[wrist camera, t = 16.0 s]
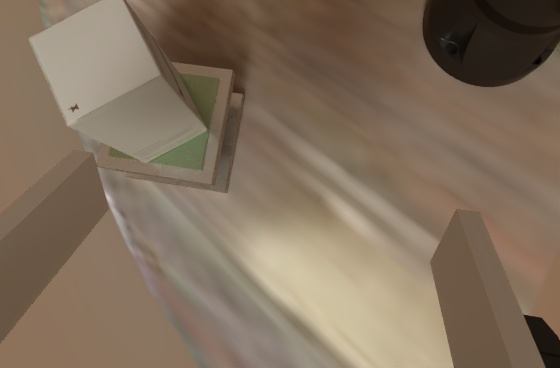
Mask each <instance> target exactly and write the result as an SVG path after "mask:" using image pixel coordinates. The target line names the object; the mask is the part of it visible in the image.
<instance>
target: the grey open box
mask: <svg viewBox="0 0 560 368" xmlns="http://www.w3.org/2000/svg"><path fill="white" fill-rule="evenodd" d="M172 64H173V65H174V67H175V68H176V69H177V71H178V72H179V74H180V77H181V79H182V81H183V83H184V85H185V87H186V89H187V91H188V93H189V95H190V97H191V99H192V101H193V103H194V105H195V107H196V109H197V110H198V112H199V114H200V116H201V118H202V120H203V121H204V123H205V125H206V126H207V128H208V130H207V131H206V132H204V133H202V134H200V135H198V136H196V137H195V138H193V139H191V140H189V141H187V142H185V143H183V144H181V145H180V146H178V147H176V148H174V149H172V150H170V151H168V152H166V153H164V154H162V155H160V156H158V157H157V158H155V159H153V160H151V161H149V162H147V163H144V162H142V161H140V160H138V159H136V158H133V157H131V156H129V155H127V154H125V153H123V152H121V151H119V150H117V149H114V148H112V147H110V146H108V145H106V144H104V143H102V142H101V147H100V151H99V155H98V160H97V167H100V168H103V169H109V170H115V171H121V172H127V175H126V176H127V177H130V178H134V179H141V180H147V181H153V182H160V183H166V184H172V185H179V186H185V187H191V188H198V189H204V190H210V191H216V192H223V193H227V192H228V186H229V181H230V175H231V170H232V164H233V159H234V153H235V148H236V142H237V137H238V132H239V126H240V121H241V115H242V110H243V104H244V96H243V94H239V93H232V91H233V86H234V81H235V74H234V72H233V70H229V69H222V68H214V67H207V66H199V65H192V64H184V63H176V62H172Z"/></svg>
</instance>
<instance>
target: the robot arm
mask: <svg viewBox="0 0 560 368" xmlns="http://www.w3.org/2000/svg"><path fill="white" fill-rule="evenodd" d="M423 35H424V40H425V43H426V46H427V49H428V51H429V53H430V54H431V56H432V58H433V59H434V60H435V62H436V63H437V64H438V65H439V66H440V67H441V68H442V69H443V70H444V71H445V72H446V73H448V74H449V75H451V76H452V77H454V78H456V79H458V80H460V81H462V82H465V83H468V84H471V85H475V86H482V87H496V86H503V85H507V84H510V83H513V82H516V81H518V80H520V79H522V78H523V77H525V76H526V75H528V74H529V73H531V72H532V71H534V70H535V69H536V68H538V67H539V66H540V65H541V64H543V63H544V62H545V61H546V60H547V59H548V57H549V56H550V55H551V54H552V52H553V51H554V49H555V48H556V46H557V44H558V43H559V41H560V0H430V2H429V4H428V6H427V8H426V11H425V15H424V19H423ZM108 209H109V207H108V203H107V200H106V196H105V193H104V189H103V186H102V182H101V179H100V175H99V172H98V168H97V164H96V161H95V157H94V154H93V153H91V152H84V151H77V150H73V151H72V152H71V153H70V154H68V155H67V156H66V157H65V158H64V159H63V160H61V161H60V162H59V163H58V164H57V165H56V166H55V167H53V168H52V169H51V170H50V171H49V172H48V173H47V174H46V175H44V176H43V177H42V178H41V179H40V180H39V181H37V182H36V183H35V184H34V185H33V186H32V187H30V188H29V189H28V190H27V191H26V192H25V193H24V194H22V195H21V196H20V197H19V198H18V199H17V200H16V201H14V202H13V203H12V204H11V205H10V206H9V207H7V208H6V209H5V210H4V211H3V212H2V213H1V214H0V343H1V342H2V341H3V340H4V338H5V337H6V336H7V334H8V333H9V332H10V331H11V330H12V329H13V327H14V326H15V325H16V323H17V322H18V321H19V320H20V319H21V317H22V316H23V315H24V314H25V312H26V311H27V310H28V309H29V307H30V306H31V305H32V304H33V302H34V301H35V300H36V299H37V298H38V296H39V295H40V294H41V292H42V291H43V290H44V289H45V288H46V286H47V285H48V284H49V283H50V281H51V280H52V279H53V278H54V276H55V275H56V274H57V273H58V271H59V270H60V269H61V268H62V266H63V265H64V264H65V263H66V261H67V260H68V259H69V258H70V256H71V255H72V254H73V252H75V250H76V249H77V248H78V246H79V245H80V244H81V243H82V242H83V240H84V239H85V238H86V237H87V235H88V234H89V233H90V232H91V230H92V229H93V228H94V227H95V225H96V224H97V223H98V222H99V221H100V219H101V218H102V217H103V216H104V214H105V213H106V212H107V211H108ZM430 263H431V268H432V272H433V277H434V281H435V285H436V290H437V294H438V299H439V303H440V308H441V312H442V316H443V321H444V325H445V330H446V334H447V338H448V343H449V347H450V352H451V356H452V361H453V365H454V368H560V340H559V338H558V336H557V335H556V334H555V333H554V332H553V330H552V329H551V328H550V327H549V326H548V325H547V324H546V322H545V321H544V320H543V319H542V318H540V317H534V316H528V315H523V313H522V311H521V309H520V306H519V304H518V302H517V299H516V297H515V294H514V292H513V290H512V287H511V285H510V283H509V280H508V278H507V276H506V273H505V271H504V269H503V266H502V264H501V262H500V259H499V257H498V255H497V252H496V250H495V248H494V245H493V243H492V241H491V238H490V236H489V233H488V231H487V229H486V226H485V224H484V222H483V219H482V217H481V215H480V212H474V211H467V210H461V209H456V211H455V213H454V215H453V217H452V219H451V221H450V223H449V225H448V227H447V229H446V231H445V233H444V235H443V237H442V239H441V241H440V243H439V245H438V247H437V249H436V251H435V253H434V255H433V257H432V259H431V261H430Z"/></svg>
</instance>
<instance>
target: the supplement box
mask: <svg viewBox="0 0 560 368" xmlns="http://www.w3.org/2000/svg"><path fill="white" fill-rule="evenodd" d="M29 42H30V45H31V47H32V49H33V51H34V53H35V55H36V57H37V60H38V62H39V64H40V67H41V69H42V71H43V73H44V75H45V78H46V80H47V83H48V85H49V87H50V89H51V91H52V93H53V95H54V97H55V99H56V102H57V104H58V106H59V108H60V111H61V113H62V115H63V117H64V119H65V122H66V125H67V126H69V127H71V128H73V129H75V130H77V131H79V132H81V133H83V134H85V135H87V136H89V137H92V138H94V139H96V140H98V141H100V142H102V143H104V144H106V145H108V146H110V147H112V148H114V149H117V150H119V151H121V152H123V153H125V154H127V155H129V156H131V157H133V158H136V159H138V160H140V161H142V162H144V163H147V162H149V161H151V160H153V159H155V158H157V157H158V156H160V155H162V154H164V153H166V152H168V151H170V150H172V149H174V148H176V147H178V146H180V145H181V144H183V143H185V142H187V141H189V140H191V139H193V138H195V137H196V136H198V135H200V134H202V133H204V132H206V131H207V130H208V128H207V126H206V125H205V123H204V121H203V120H202V118H201V116H200V114H199V112H198V110H197V109H196V107H195V105H194V103H193V101H192V99H191V97H190V95H189V93H188V91H187V89H186V87H185V85H184V83H183V81H182V79H181V77H180V74H179V72H178V71H177V69H176V68H175V67H174V65H173V64H172V62H171V61H170V60H169V58H168V57H167V55H166V54H165V53H164V51H163V50H162V49H161V47H160V46H159V44H158V43H157V42H156V40H155V39H154V38H153V36H152V35H151V34H150V32H149V31H148V30H147V28H146V27H145V26H144V24H143V23H142V22H141V20H140V19H139V18H138V16H137V15H136V14H135V12H134V11H133V10H132V8H131V7H130V6H129V4H128V3H127V2H126V0H101V1H99V2H97V3H95V4H93V5H91V6H89V7H87V8H85V9H83V10H81V11H79V12H78V13H76V14H74V15H72V16H70V17H68V18H66V19H65V20H63V21H61V22H59V23H57V24H55V25H53V26H51V27H49V28H47V29H45V30H43V31H41V32H39V33H37V34H35V35H32V36H30V37H29Z"/></svg>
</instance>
